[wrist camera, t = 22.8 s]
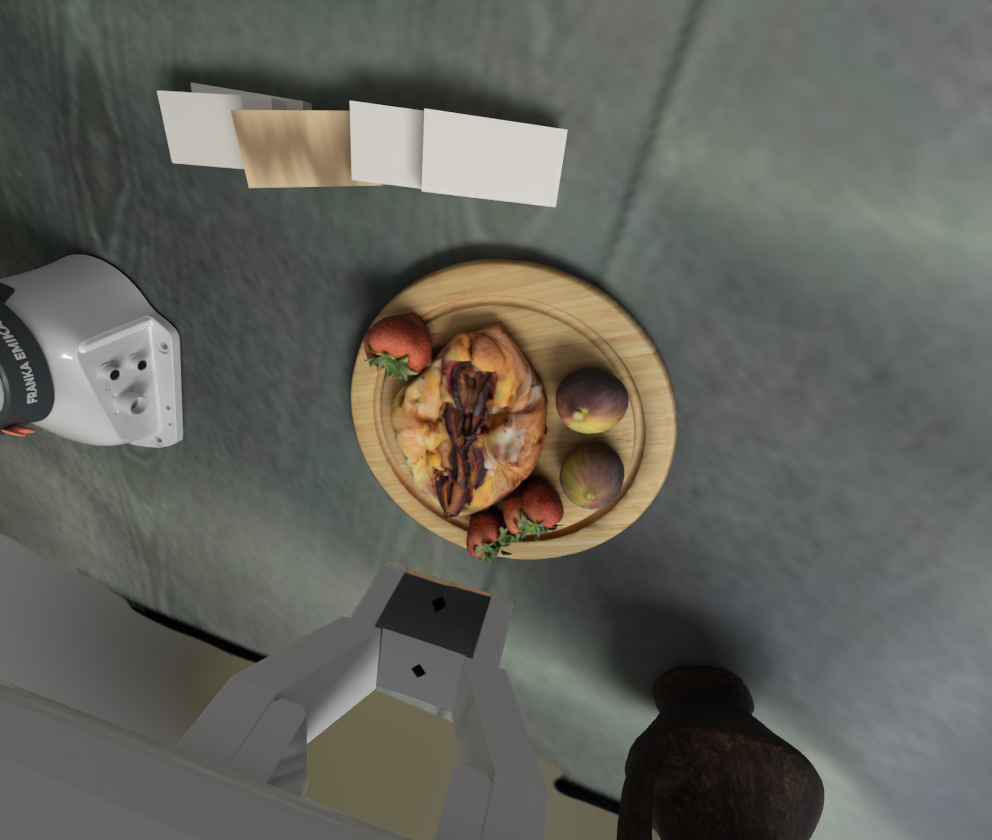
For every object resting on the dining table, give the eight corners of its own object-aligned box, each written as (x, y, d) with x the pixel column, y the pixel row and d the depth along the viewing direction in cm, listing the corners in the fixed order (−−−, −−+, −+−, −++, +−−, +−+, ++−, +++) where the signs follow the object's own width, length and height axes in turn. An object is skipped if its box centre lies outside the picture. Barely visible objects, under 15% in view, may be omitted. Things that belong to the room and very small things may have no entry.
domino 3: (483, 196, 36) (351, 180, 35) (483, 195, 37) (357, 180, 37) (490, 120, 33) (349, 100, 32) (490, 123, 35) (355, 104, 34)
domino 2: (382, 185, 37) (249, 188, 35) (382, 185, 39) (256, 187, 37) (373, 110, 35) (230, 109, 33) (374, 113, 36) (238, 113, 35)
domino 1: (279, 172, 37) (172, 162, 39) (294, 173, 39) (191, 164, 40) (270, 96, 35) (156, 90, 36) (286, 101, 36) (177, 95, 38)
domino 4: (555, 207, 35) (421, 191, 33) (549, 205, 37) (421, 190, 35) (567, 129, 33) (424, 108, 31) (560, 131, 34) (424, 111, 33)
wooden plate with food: (301, 348, 48) (245, 377, 41) (588, 179, 35) (582, 179, 28) (455, 572, 58) (432, 628, 50) (723, 503, 45) (744, 564, 38)
